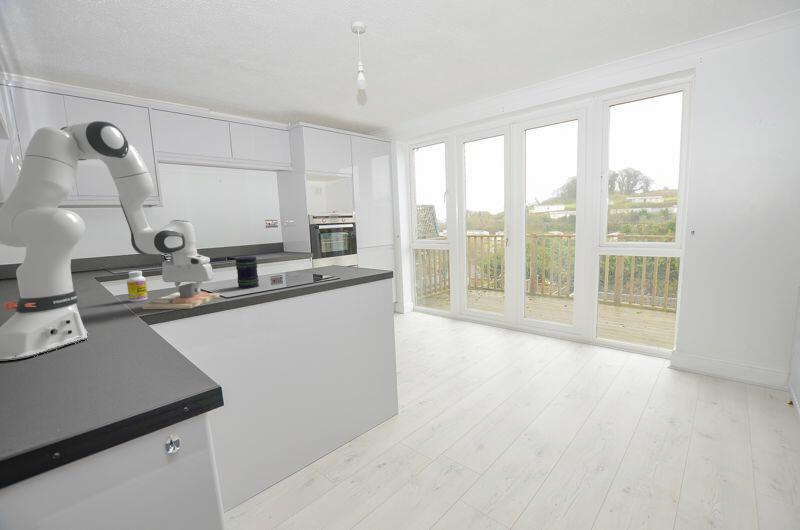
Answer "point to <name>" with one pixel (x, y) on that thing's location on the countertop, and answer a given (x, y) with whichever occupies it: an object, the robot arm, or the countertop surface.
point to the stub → (188, 293)
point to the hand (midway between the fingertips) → (189, 292)
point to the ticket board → (167, 303)
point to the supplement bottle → (137, 287)
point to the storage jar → (247, 272)
